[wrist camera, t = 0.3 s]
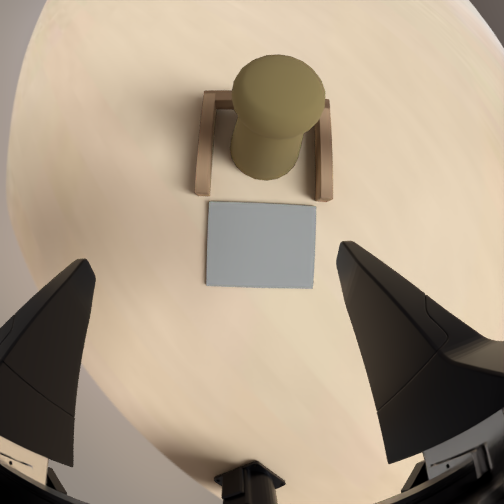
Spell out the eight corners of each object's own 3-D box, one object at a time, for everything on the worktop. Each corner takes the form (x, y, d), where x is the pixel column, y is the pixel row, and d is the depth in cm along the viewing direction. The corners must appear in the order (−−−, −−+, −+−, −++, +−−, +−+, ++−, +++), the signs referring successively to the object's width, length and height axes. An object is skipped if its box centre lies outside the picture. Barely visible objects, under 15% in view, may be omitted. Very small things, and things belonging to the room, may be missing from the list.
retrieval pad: (311, 287, 23) (312, 288, 23) (206, 285, 23) (206, 285, 22) (315, 206, 23) (316, 206, 22) (209, 201, 22) (209, 201, 22)
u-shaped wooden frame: (326, 202, 23) (332, 199, 21) (198, 195, 22) (194, 192, 21) (323, 108, 22) (329, 99, 21) (206, 100, 22) (204, 90, 20)
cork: (216, 156, 22) (197, 92, 11) (255, 106, 22) (265, 26, 11) (274, 194, 23) (304, 155, 12) (311, 141, 23) (358, 78, 12)
